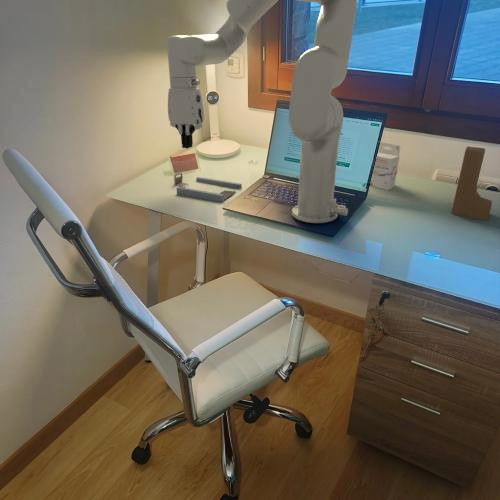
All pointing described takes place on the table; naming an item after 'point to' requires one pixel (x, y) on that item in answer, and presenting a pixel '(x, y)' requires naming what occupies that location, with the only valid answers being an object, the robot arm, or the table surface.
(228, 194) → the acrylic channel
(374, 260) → the table surface
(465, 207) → the wooden block
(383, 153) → the ink cartridge box
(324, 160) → the robot arm
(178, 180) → the strap clip
